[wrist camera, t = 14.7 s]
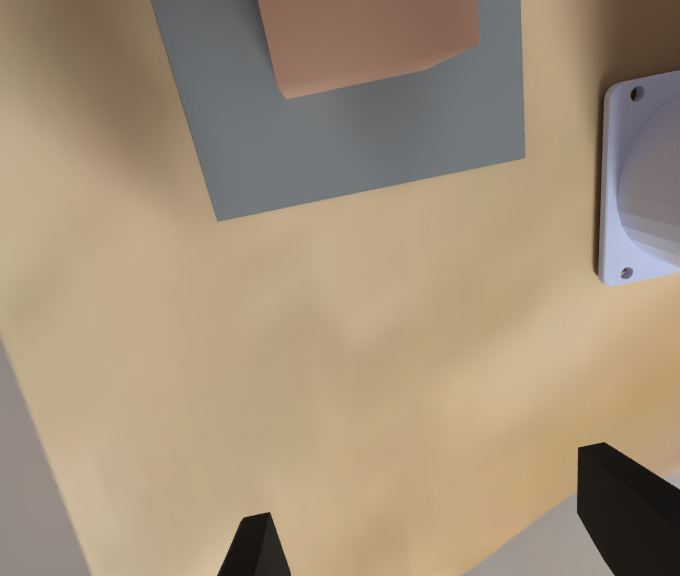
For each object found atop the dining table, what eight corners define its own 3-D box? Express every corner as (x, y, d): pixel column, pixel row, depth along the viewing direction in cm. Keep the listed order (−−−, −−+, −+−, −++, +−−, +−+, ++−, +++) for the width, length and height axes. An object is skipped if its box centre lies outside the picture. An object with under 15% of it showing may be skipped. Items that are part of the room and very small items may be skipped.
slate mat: (508, -274, 12) (512, -280, 12) (522, 157, 16) (525, 158, 16) (96, -190, 12) (92, -195, 12) (218, 220, 16) (217, 221, 16)
